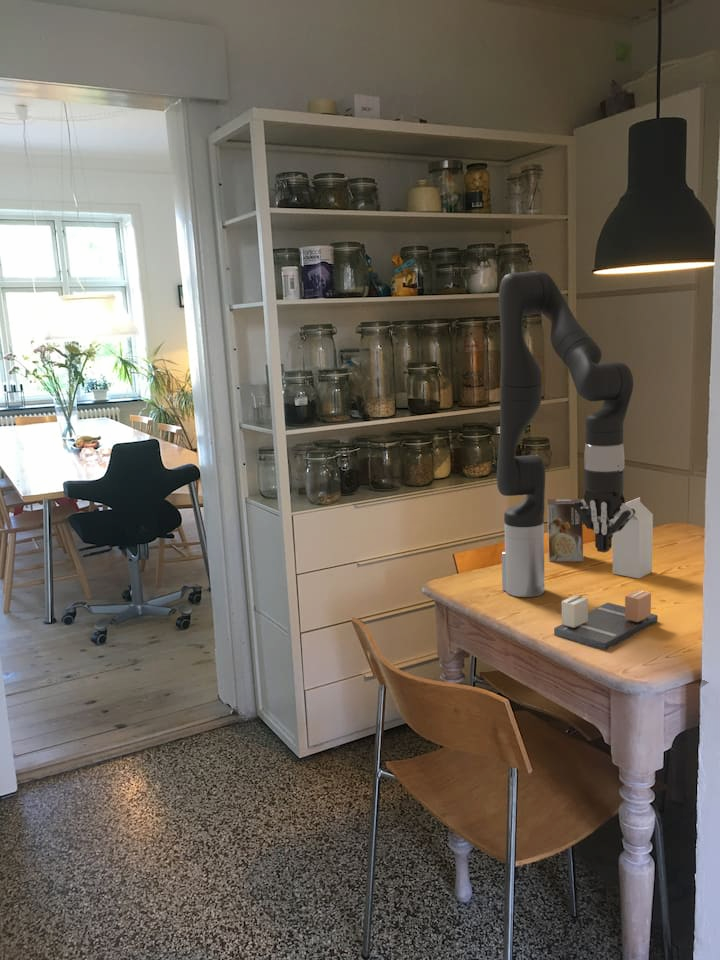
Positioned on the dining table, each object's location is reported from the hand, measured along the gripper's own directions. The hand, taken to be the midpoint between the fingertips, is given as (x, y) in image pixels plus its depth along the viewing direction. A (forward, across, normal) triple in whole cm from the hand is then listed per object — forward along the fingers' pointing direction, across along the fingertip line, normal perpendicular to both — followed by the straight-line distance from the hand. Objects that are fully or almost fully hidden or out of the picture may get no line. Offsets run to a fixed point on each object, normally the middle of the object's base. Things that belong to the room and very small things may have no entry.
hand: (603, 551), depth 159 cm
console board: (+19, -2, +5) cm, 20 cm away
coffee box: (+19, -37, +41) cm, 59 cm away
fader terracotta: (+17, +2, +11) cm, 20 cm away
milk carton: (+19, -17, +41) cm, 48 cm away
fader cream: (+17, -7, 0) cm, 18 cm away
